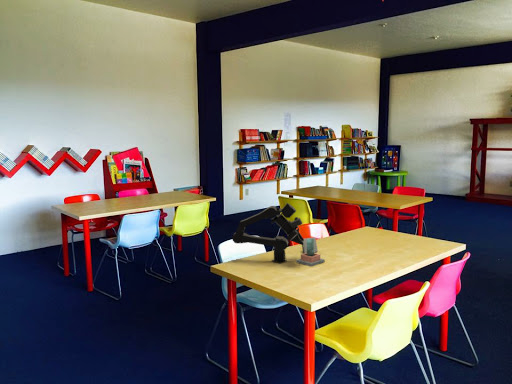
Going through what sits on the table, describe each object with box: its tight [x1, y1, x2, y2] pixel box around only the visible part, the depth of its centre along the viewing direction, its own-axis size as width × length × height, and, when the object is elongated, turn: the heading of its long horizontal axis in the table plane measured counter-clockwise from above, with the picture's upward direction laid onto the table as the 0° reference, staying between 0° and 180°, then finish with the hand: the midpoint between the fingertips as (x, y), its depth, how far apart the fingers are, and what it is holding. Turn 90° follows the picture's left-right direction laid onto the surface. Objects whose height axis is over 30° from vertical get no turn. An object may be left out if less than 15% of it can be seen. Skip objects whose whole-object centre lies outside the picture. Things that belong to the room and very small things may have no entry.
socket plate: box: [295, 252, 325, 267], centre depth 253 cm, size 12×11×4 cm
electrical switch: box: [301, 237, 318, 254], centre depth 274 cm, size 9×5×9 cm, turn 116°
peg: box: [307, 237, 314, 257], centre depth 252 cm, size 4×4×12 cm
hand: (303, 242), depth 252 cm, fingers open, 9 cm apart
